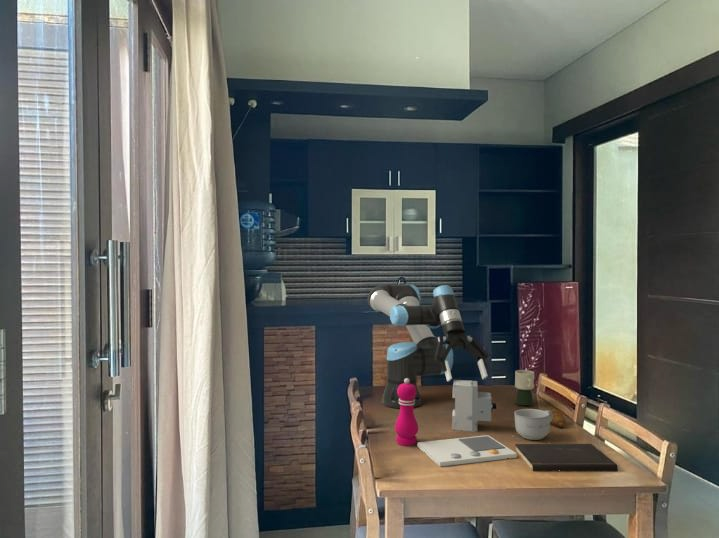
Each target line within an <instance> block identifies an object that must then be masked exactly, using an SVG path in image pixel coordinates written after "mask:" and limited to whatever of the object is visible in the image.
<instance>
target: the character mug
mask: <svg viewBox="0 0 719 538" xmlns="http://www.w3.org/2000/svg"><path fill="white" fill-rule="evenodd" d="M534 380H535V372H534V371H533V370H526V369H518V370H517V369H516V370H515V372H514V387H515V388H516V389H517V392H516V393H517V394H516V398H515V399H516V400H515V404H516V405H519V406H525V407H527V406H533V403H534V402H533V394H532V390H533V389H535V383H534V382H535V381H534Z"/></svg>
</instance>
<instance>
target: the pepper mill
mask: <svg viewBox="0 0 719 538" xmlns="http://www.w3.org/2000/svg"><path fill="white" fill-rule="evenodd" d="M409 382H410V380H409V379H408V378H406V379H404V383H403V384H401V385H399V387H398V389H397V394H398V396H399V397H400V398H399V404H400V408H399V414H398V417H397V419H396V422H395V423H394V431H395V433H396V434H397V435H396V437H395V438H396V439H395V440H396V441H395V443H396V444H398V445H400V446H403V447H410V446H411V445H412V446H414V444H415V445H416V444H417V440H418V439H417V436H416V435H417V434H418V432H419V425H418V421H417V419H416V417H415V413H414V408H413V405H414V404H415V399H414V397H415V396H416V393H417V391H416V388H415V386H414V385H413V384H410V383H409ZM412 446H411V447H412Z"/></svg>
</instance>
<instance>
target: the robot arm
mask: <svg viewBox="0 0 719 538" xmlns="http://www.w3.org/2000/svg"><path fill="white" fill-rule="evenodd" d="M432 294H433V299H434V300H433V302H432V303H431V304H430V305H429V304H427V305H424V304H423V305H421V302H422V298H421V297H422V296H421V292H420V290H419V288H418V287H417V286H416V285H415V284H409V283H404V284H379V285H377V286H375V287H373V288H372V289H371V290H370V291H369V293H368V296H367V302H368V306H370V308H371V309H373V310H374V311H376V312H382V313H383V314H385V315H386V316H388V317H389V320H390V322H391V325H392V326H400V327H404V326H405V327H406V329H407V331H408V333H409V336H410V337H411V339H412V341H403V342H397V343H393V344H391V345H390V346H388V347H387V351H386V385H385V389H384V392H383V394H382V399H381V400H382V401H381V404H382V405H383V406H385V407H389V408H394V409H400V404H399V398H400V397H399V396H398V394H397V389H398V387H399V385H401V384H403V383H404V379H406V378H408V379H409V380H410V382H409V383H410V384H413V385H414V386H415V388H416V391H417V393H416V396H415V397H414V399H415V404H414V405H413V407H414V408H417V406H418V407H419V406H421V405H422V397H421V394H420V390H419V387H418V383H417V381H418V377H419V376H421V377H422V376H436V375H437V376H438V375H439V376H441V375H445V377H446V378H445V379H446V382H450V381H451V380H452V379H453V377H452V373H451V371H452V368H453V365H454V351H453V349H464V351H467V352H468V353H469V354H470V355H472V356H473V357H474V358H475V359H476V360H477V366H478V369H479V372H480V376H481V379H482V380H485V379H487V378H488V373H487V368H488V366H487V363H486V360H487V359H488V357H490V356H489V354H488V353H487V351H486V350H485V349H484V348H483V346H482V345H481V344H480V343H479V342H478V341H477V339H476V337H475V335H474V334H473V333H472V334H470V335H467V334H466V331H465V326H464V324H463V322H462V321H463V320H462V316H461V313H460V311H459V307H458V303H457V299H456V294H455V293H454V290H453V288H452V286H450V285H446V284H444V285H439V286H437V287H436V288H434V289H433V293H432ZM440 326H441V327H442V332H443V335H444V336H443V335H442V334H440V335H439V336H438V337H437V336H435V335H434V334H433V332H432V330H431V329H433V330H435V329H438V328H439V327H440ZM444 343H445V344H444Z"/></svg>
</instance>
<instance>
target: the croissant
mask: <svg viewBox="0 0 719 538" xmlns="http://www.w3.org/2000/svg"><path fill="white" fill-rule="evenodd" d="M549 411H551V412H552V415H553V418H552V421H551V422H550V423H549V425H552V426H553V425H554V426H553V427H556V428H558V429H563V428H564V427H565V424H566V421H565V417H564V413H563V412H562V411H560V410H557V409H555V408H553V409H550V410H549Z"/></svg>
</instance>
